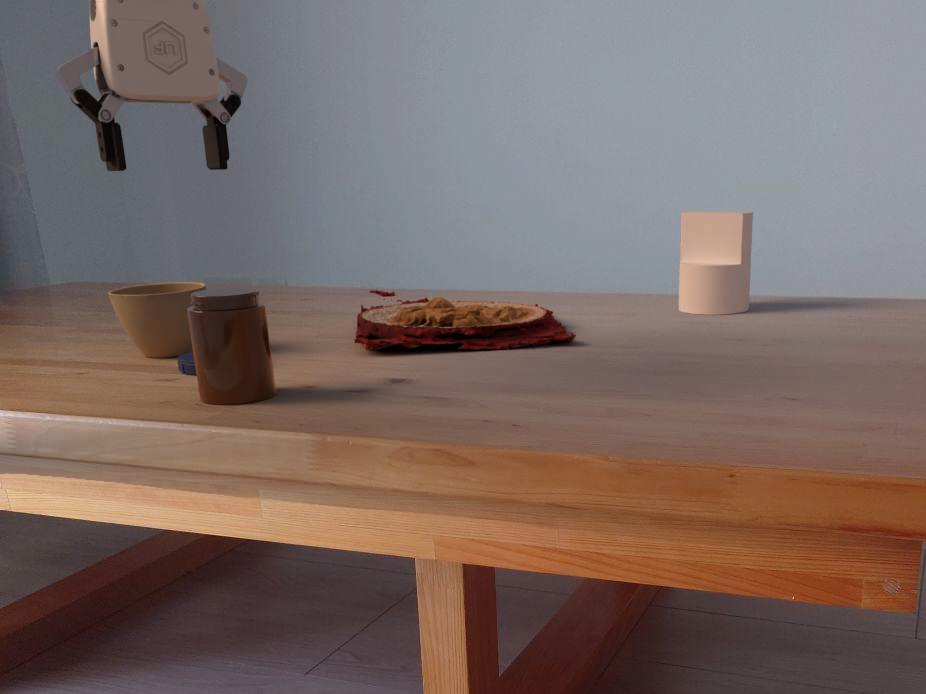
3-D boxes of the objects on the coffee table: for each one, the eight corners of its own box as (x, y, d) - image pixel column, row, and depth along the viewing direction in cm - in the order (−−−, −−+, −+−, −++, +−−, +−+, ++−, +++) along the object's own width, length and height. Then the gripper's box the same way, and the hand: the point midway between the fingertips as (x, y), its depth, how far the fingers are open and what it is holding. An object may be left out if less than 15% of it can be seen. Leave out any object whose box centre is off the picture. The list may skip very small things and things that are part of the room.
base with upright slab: (666, 311, 130) (667, 214, 125) (697, 302, 137) (700, 209, 132) (730, 316, 125) (734, 215, 120) (760, 306, 132) (764, 210, 127)
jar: (219, 408, 86) (203, 299, 83) (188, 396, 91) (172, 293, 88) (289, 395, 90) (276, 290, 87) (255, 384, 95) (242, 285, 92)
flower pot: (152, 345, 117) (142, 282, 115) (231, 345, 115) (222, 281, 113) (100, 362, 108) (88, 294, 106) (185, 363, 106) (174, 293, 103)
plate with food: (355, 359, 107) (352, 326, 105) (362, 316, 130) (360, 289, 129) (576, 351, 109) (577, 319, 108) (544, 310, 133) (544, 284, 132)
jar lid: (259, 369, 102) (257, 355, 102) (189, 378, 99) (186, 364, 98) (240, 358, 108) (238, 345, 107) (173, 367, 104) (171, 353, 104)
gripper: (51, -57, 81) (87, 171, 86) (251, -33, 91) (271, 168, 97) (23, -42, 86) (59, 171, 92) (216, -21, 96) (237, 169, 102)
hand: (168, 170), depth 94 cm, fingers open, 9 cm apart
